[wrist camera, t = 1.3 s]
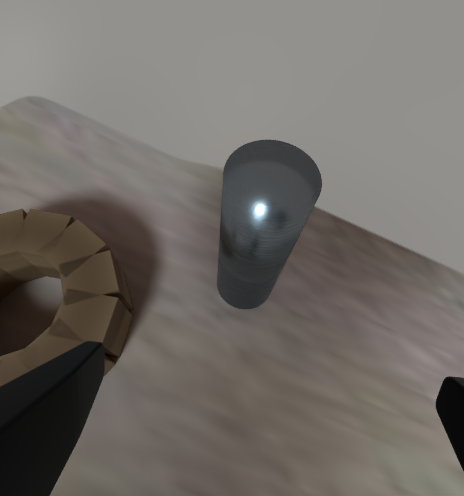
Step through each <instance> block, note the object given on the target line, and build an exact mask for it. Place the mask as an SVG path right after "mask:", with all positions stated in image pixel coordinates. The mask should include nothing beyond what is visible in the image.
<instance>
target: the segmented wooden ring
mask: <svg viewBox="0 0 464 496" xmlns="http://www.w3.org/2000/svg"><path fill="white" fill-rule="evenodd" d="M45 276H49V277H54V278H60V279H61V284H62V291H63V299H62V302H61V304H60V306H59V309H58V311H57V313H56V316H55V318H54V320H53V323H52V325H51V326H50V327H49V328H47V329H46V330H45V331H44V332H43V333H42V334H41V335H40V336H38V337H37V338H36V339H35V340H34V341H33V342H32V343H31V344H29V345H28V346H27V347H26V348H24V349H21V350H18V351H15V352H12V353H9V354H6V355H2V356H0V386H2V385H4V384H6V383H8V382H10V381H12V380H14V379H15V378H17V377H19V376H21V375H23V374H25V373H27V372H29V371H31V370H33V369H34V368H36V367H38V366H40V365H42V364H44V363H46V362H48V361H50V360H52V359H53V358H55V357H57V356H59V355H61V354H63V353H65V352H67V351H69V350H70V349H72V348H74V347H76V346H78V345H80V344H82V343H84V342H86V341H95V342H102V343H103V344H104V353H105V372H104V376H105V374H106V373H107V372H108V371H109V370H110V369H111V368H112V367H113V366H114V365H115V363H114V362H113V361H112V360H111V359H110V358H109V357H108V356H107V355H113V356H118V357H120V355H121V352H122V349H123V345H124V342H125V339H126V336H127V333H128V330H129V327H130V324H131V320H132V317H133V316H132V315H131V313H130V312H129V310H132V309H133V306H132V302H131V298H130V294H129V290H128V286H127V281H126V277H125V274H124V272H123V271H122V269H121V267H120V266H119V264H118V262H117V261H116V259H115V258H114V256H113V254H112V253H111V251H110V249H109V248H108V246H107V244H106V243H105V242H103V241H102V240H101V239H100V238H99V237H98V236H97V235H95V234H94V233H93V232H92V231H91V230H90V229H89V228H88V227H86V226H85V225H84V224H83V223H82V222H81V221H80V220H78V219H77V220H76V221H75V220H74V219H73V218H72V216H68V215H63V214H58V213H52V212H47V211H41V210H36V209H30V211H29V212H28V214H27V213H26V212H25V211H24V210H23V209H20V210H16V211H11V212H7V213H3V214H0V301H1V299H3V298H4V297H5V296H6V295H8V294H9V293H10V292H11V291H13V290H14V289H15V288H16V287H18V286H19V285H20V284H21V283H24V282H27V281H31V280H34V279H38V278H41V277H45ZM106 354H107V355H106ZM104 376H103V377H104Z"/></svg>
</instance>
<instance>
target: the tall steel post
mask: <svg viewBox="0 0 464 496" xmlns="http://www.w3.org/2000/svg"><path fill="white" fill-rule="evenodd" d="M321 187H322V180H321V174H320V172H319V169H318V167H317V165H316V164H315V162H314V161H313V160H312V159H311V158H310V156H308V155H307V154H306V153H305V152H304V151H302V150H301V149H299V148H297V147H296V146H293V145H291V144H288V143H285V142H281V141H276V140H259V141H254V142H251V143H247V144H245V145H243V146H241V147H240V148H238V149H237V150H235V151H234V152H233V153H232V154H231V155H230V157H229V158H228V160H227V162H226V164H225V167H224V173H223V189H222V206H221V223H220V240H219V258H218V275H217V287H218V291H219V293H220V295H221V297H222V298H223V299H224V300H225V301H226V302H227V303H228V304H230V305H231V306H233V307H236V308H239V309H252V308H255V307H257V306H259V305H261V304H262V303H263V302H264V301H265V300H266V299H267V298H268V296H269V294H270V292H271V290H272V288H273V286H274V284H275V282H276V280H277V278H278V276H279V274H280V272H281V270H282V268H283V266H284V265H285V263H286V261H287V259H288V257H289V255H290V253H291V251H292V249H293V247H294V245H295V243H296V241H297V239H298V237H299V235H300V233H301V231H302V229H303V227H304V225H305V223H306V221H307V219H308V217H309V215H310V213H311V211H312V209H313V207H314V205H315V203H316V201H317V199H318V197H319V195H320V192H321Z"/></svg>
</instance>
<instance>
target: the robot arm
mask: <svg viewBox="0 0 464 496" xmlns="http://www.w3.org/2000/svg"><path fill="white" fill-rule="evenodd" d="M104 372H105V353H104V344H103V343H102V342H95V341H86V342H84V343H82V344H80V345H78V346H76V347H74V348H72V349H70V350H69V351H67V352H65V353H63V354H61V355H59V356H57V357H55V358H53V359H52V360H50V361H48V362H46V363H44V364H42V365H40V366H38V367H36V368H34V369H33V370H31V371H29V372H27V373H25V374H23V375H21V376H19V377H17V378H15V379H14V380H12V381H10V382H8V383H6V384H4V385H2V386H0V496H49V495H50V494H51V492H52V490H53V488H54V486H55V484H56V482H57V480H58V478H59V476H60V474H61V472H62V470H63V468H64V467H65V465H66V463H67V461H68V459H69V457H70V455H71V453H72V451H73V449H74V447H75V445H76V443H77V441H78V439H79V437H80V435H81V433H82V430H83V428H84V425H85V423H86V420H87V418H88V415H89V413H90V410H91V408H92V405H93V402H94V400H95V397H96V395H97V392H98V390H99V387H100V385H101V382H102V380H103V376H104ZM436 410H437V413H438V415H439V417H440V419H441V422H442V424H443V426H444V429H445V431H446V433H447V435H448V438H449V440H450V442H451V444H452V447H453V449H454V451H455V453H456V456H457V458H458V460H459V462H460V465H461V467H462V469H463V471H464V378H460V377H450V376H449V377H446V378H445V379H444V381H443V383H442V386H441V388H440V391H439V394H438V396H437V399H436Z"/></svg>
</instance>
